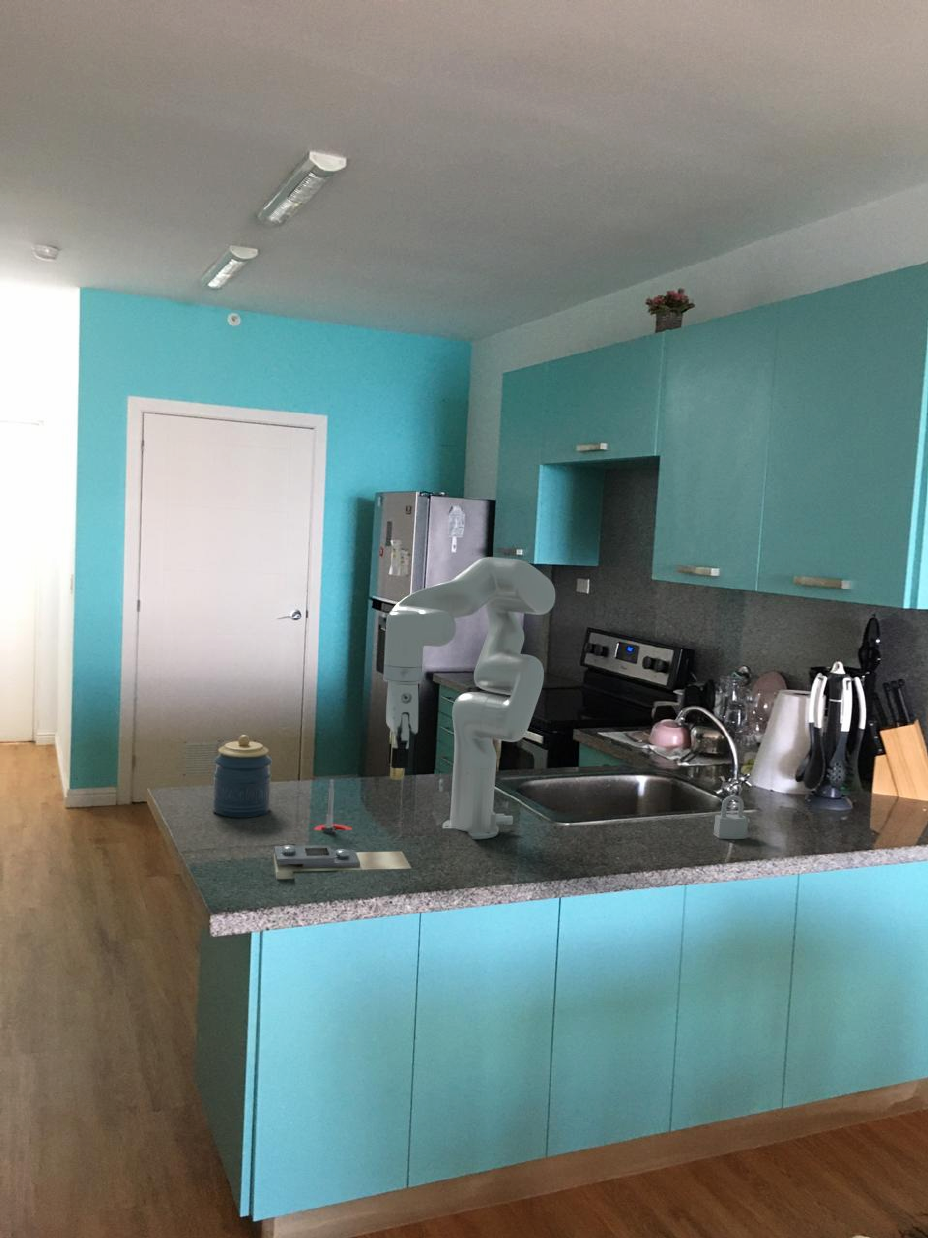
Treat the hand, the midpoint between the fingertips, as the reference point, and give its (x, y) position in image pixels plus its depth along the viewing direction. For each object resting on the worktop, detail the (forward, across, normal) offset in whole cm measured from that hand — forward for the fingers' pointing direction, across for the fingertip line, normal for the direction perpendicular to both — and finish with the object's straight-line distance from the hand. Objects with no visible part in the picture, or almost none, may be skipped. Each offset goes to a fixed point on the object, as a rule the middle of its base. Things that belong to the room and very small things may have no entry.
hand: (397, 764), depth 205 cm
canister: (+21, +40, +28) cm, 53 cm away
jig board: (+21, 0, +10) cm, 23 cm away
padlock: (+22, +15, -83) cm, 87 cm away
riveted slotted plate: (+19, 0, +15) cm, 25 cm away
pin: (+3, 0, 0) cm, 3 cm away
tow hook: (+21, +22, +9) cm, 32 cm away
